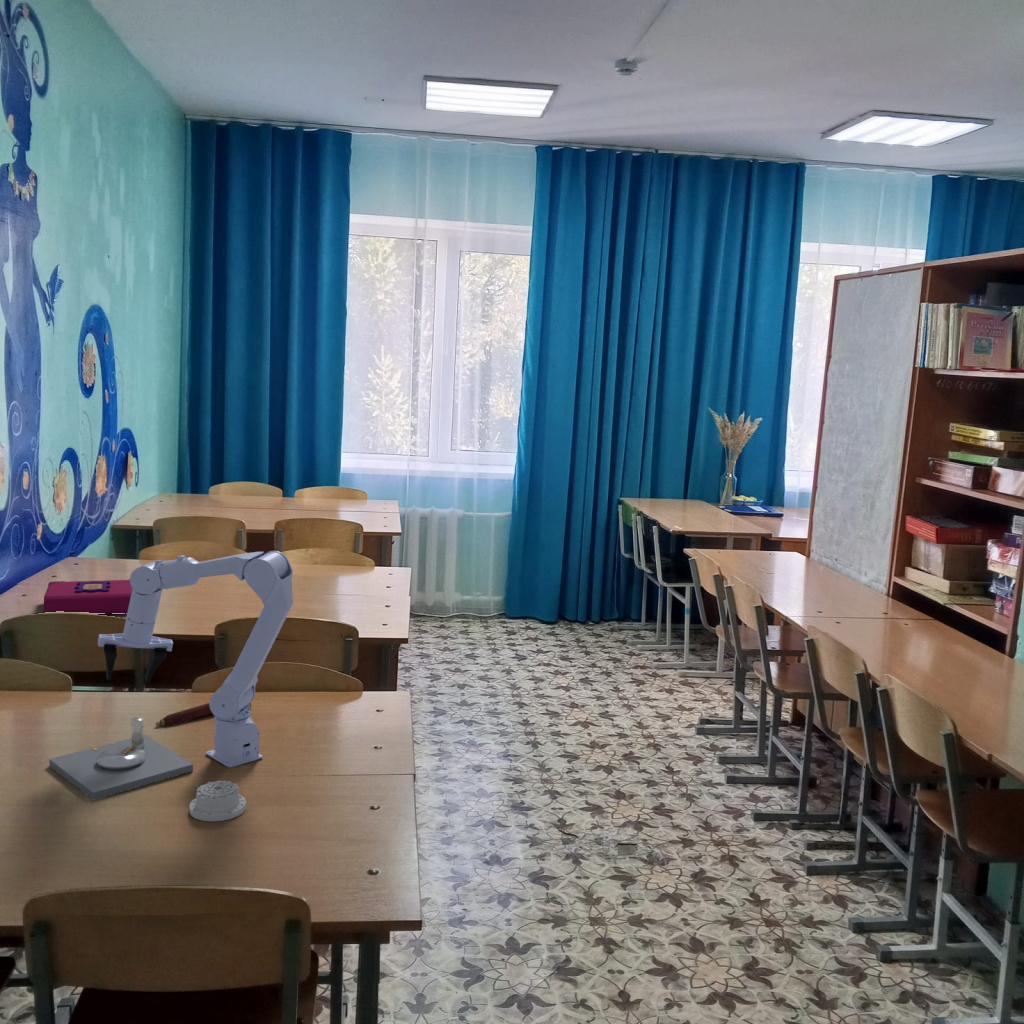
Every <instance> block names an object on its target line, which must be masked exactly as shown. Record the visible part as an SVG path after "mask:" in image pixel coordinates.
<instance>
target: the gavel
mask: <svg viewBox="0 0 1024 1024" xmlns="http://www.w3.org/2000/svg"><path fill="white" fill-rule="evenodd" d="M221 687H222V686H220V687H218V688H217V689H216V690H215V691H214V692H213V694H214V693H215V692H217V691H218V690H219V689H220V688H221ZM250 710H252V702H251V703H250ZM211 713H212V712H211V710H210V706H209V702H208V703H204V704H201V705H198V706H194V707H191V708H187V709H183V710H180V711H177V712H173V713H170V714H168V715H166V716H164V717H163V718H161V719H160V720H159V721H156V722H155V726H156V727H160V726H161V727H168V726H167V725H170V726H174V725H173V724H175V725H177V723H178V724H181V723H180V722H182V723H185V722H184V721H186V722H188V721H187V720H189V721H191V720H190V719H192V720H195V719H194V718H196V719H198V718H197V717H199V718H202V717H205V716H208V714H209V715H211ZM212 714H213V713H212ZM204 715H205V716H204ZM201 716H202V717H201Z"/></svg>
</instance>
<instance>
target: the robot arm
mask: <svg viewBox="0 0 1024 1024" xmlns="http://www.w3.org/2000/svg"><path fill="white" fill-rule="evenodd" d="M293 573H294V569H293V567H292V565H291V563H290V560H289V559H288V557H287V556H286V555H285V554H284V553H283V552H280V551H278V550H270V551H267V552H266V553H265V551H254V552H246V553H239V554H234V555H229V556H224V557H219V558H214V559H209V560H208V559H207V560H203V561H198V560H196V559H195V558H193V557H186V555H184V554H183V555H178V556H177V557H176V559H172V560H171V559H170V560H164V561H163V559H157V560H155V561H152V562H149V563H146V564H142V565H141V566H138V567H136V568H135V569H134V570H133V571H131V574H130V576H129V579H130V584H131V586H132V588H133V590H132V595H131V599H130V603H129V608H128V613H127V614H126V619H125V621H124V622H125V623H124V628H123V631H122V633H109V634H107V633H106V634H103V633H102V634H101V633H99V634H98V637H97V646H98V647H100V648H103V653H104V656H105V665H106V674H105V675H106V681H111V680H112V679H113V673H114V667H115V662H116V661H117V660H116V659H117V658H118V657H117V656H118V652H117V647H119V648H133V649H149V656H148V662H147V666H146V669H145V674H144V680H145V682H146V683H150V681H151V679H152V677H153V675H154V674H155V672H156V671H157V668H158V667H159V666H160V665H161V663H162V662H163V661H165V659H166V658H167V652H172V650H173V645H174V642H173V640H172V639H169V638H163V637H158V636H153V635H154V629H155V626H156V620H157V615H158V612H159V607H160V601H161V597H162V593H163V590H170V589H177V588H184V587H188V586H195V585H196V584H198V583H199V581H200V579H201V578H209V577H210V578H211V577H218V576H224V575H225V576H226V575H234V576H235V577H236V578H237V579H238V580H240V582H241V581H245V582H246V583H247V585H248V587H250V588H251V590H252V591H253V592H254V593H255V594H256V595H257V597H258V598H260V600H261V602H262V605H263V608H262V610H261V612H260V614H259V616H258V618H257V620H256V622H255V624H254V626H253V629H252V630H251V633H250V634H249V636H248V638H247V640H246V643H245V644H244V647H242V648H243V649H242V650H241V653H240V655H239V657H238V658H237V661H236V662H235V665H234V667H233V669H232V671H231V672H230V673H229V675H228V676H227V677H226V678H225V680H224V682H223V683H222V685H221V686H220V687H221V688H220V687H219V688H220V689H219V690H218V691H217V692H215V691H214V692H215V693H214V692H213V694H212V695H211V697H210V699H209V702H208V703H209V706H210V710H211V712H212V715H213V716H214V733H213V734H214V739H213V741H214V745H213V746H214V749H211V750H207V751H205V754H206V755H207V756H209V757H210V758H212V759H214V760H215V761H217V762H218V763H221V764H222V765H223V766H225V767H227V768H233V767H238V766H241V765H243V764H248V763H251V762H253V761H257V759H258V760H260V758H261V759H262V758H263V757H264V756H263V755H262V754H261V753H260V730H259V727H258V725H257V724H256V723H255V722H254V721H253V719H252V716H251V713H252V712H251V710H252V709H250V703H251V704H252V702H253V701H254V699H255V696H256V685H257V683H258V682H259V681H258V680H259V679H258V674H259V672H261V669H262V667H263V665H264V663H265V661H266V659H267V657H268V655H269V653H270V652H271V649H272V647H273V645H274V643H275V641H276V639H277V637H278V635H279V634H280V631H281V629H282V627H283V625H284V623H285V622H286V619H287V617H288V615H289V613H290V611H291V609H292V607H293V605H294V599H293V597H294V596H293V583H292V581H293V580H292V579H293Z"/></svg>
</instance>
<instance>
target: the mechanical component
mask: <svg viewBox="0 0 1024 1024" xmlns="http://www.w3.org/2000/svg"><path fill="white" fill-rule="evenodd" d="M246 808H247V801H246V798H245V797H244V796H243V795H241V794H240V787H239V785H238V783H233V782H231V781H230V780H227V781H226V780H217V781H208V782H207V783H205V784H201V785H200V786H198V787H197V789H196V796H195V798H194V799H192V800H191V801H190V803H189V815H190V816H191V817H192V818H194V819H196V820H200V821H203V822H222V821H228V820H231V819H234V818H237V817H239V816H240V815H242V814H243V813H244V812H245V811H246Z"/></svg>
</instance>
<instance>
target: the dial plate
mask: <svg viewBox="0 0 1024 1024" xmlns="http://www.w3.org/2000/svg"><path fill="white" fill-rule="evenodd" d="M144 741H145V746H144V747H143V748H141V749H142V750H143V751H144V752H145V761H144V762H143V763H142V764H140V765H138V766H136V767H133V768H129V769H123V770H107V769H103V768H100V767H99V766H98V765H97V756H98V755H99V754H100V753H102V752H104V751H106V750H109V749H113V748H120V747H128V746H129V745H130V744H132V737H131V738H128V739H127V738H126V739H124V740H119V741H115V742H113V743H108V744H103V745H100V746H97V747H96V746H95V747H91V748H87V749H84V750H80V751H76V752H71V753H69V754H63V755H60V756H56V757H52V758H49V760H48V763H49V766H48V767H50V768H51V769H52V768H53V769H52V770H54V771H55V772H57V773H58V774H59V776H61V777H63V779H65V778H66V779H65V780H67V781H68V782H69V781H70V782H71V783H70V782H69V783H70V784H72V785H73V784H74V785H75V786H74V785H73V786H74V787H75V788H76V789H78V788H79V789H80V790H79V789H78V790H79V791H81V790H82V791H83V792H84V793H83V792H82V791H81V792H82V793H83V794H85V795H86V794H87V795H88V796H89V797H88V796H87V795H86V796H87V797H88V798H90V799H91V798H92V799H93V801H95V800H94V799H96V800H98V799H97V798H100V799H102V798H101V797H103V798H105V797H104V796H106V797H109V796H108V795H110V796H112V795H111V794H113V795H115V794H114V793H117V794H119V793H118V792H120V793H122V792H121V791H124V792H126V791H125V790H127V791H129V790H128V789H131V788H134V789H136V788H135V787H137V788H139V787H138V786H141V787H143V786H142V785H144V786H146V785H145V784H148V785H150V784H149V783H151V784H153V783H152V782H155V781H158V782H160V781H159V780H162V779H165V780H167V779H166V778H168V777H172V776H175V777H177V776H176V775H179V776H181V775H180V774H182V775H184V774H183V773H186V774H188V773H187V772H189V773H191V771H194V763H192V762H190V761H188V760H187V759H185V758H184V757H182V756H180V755H179V754H177V753H176V752H174V751H173V750H171V749H169V748H168V747H167V746H165V745H163V744H161V743H160V742H158V741H156V740H155V739H153V738H152V737H150V736H149V735H147V734H144ZM172 778H173V777H172ZM168 779H169V778H168ZM162 781H163V780H162ZM155 783H156V782H155ZM131 790H132V789H131ZM92 799H91V800H92Z"/></svg>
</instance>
